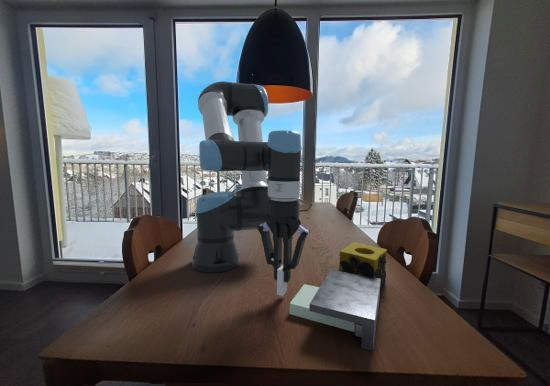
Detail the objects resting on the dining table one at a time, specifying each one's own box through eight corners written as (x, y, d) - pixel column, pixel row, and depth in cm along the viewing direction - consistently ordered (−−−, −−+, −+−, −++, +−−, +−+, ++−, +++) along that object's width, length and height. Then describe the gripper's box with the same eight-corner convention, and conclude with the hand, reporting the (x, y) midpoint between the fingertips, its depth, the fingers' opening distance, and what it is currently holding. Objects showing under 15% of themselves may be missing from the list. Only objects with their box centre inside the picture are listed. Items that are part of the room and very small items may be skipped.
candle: (351, 273, 79) (353, 241, 78) (386, 283, 73) (388, 248, 72) (336, 285, 72) (337, 250, 70) (373, 297, 65) (376, 259, 64)
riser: (308, 332, 52) (309, 303, 51) (329, 291, 68) (330, 269, 67) (372, 351, 47) (374, 320, 46) (379, 302, 63) (380, 278, 62)
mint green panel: (289, 315, 58) (289, 303, 58) (304, 295, 67) (304, 284, 67) (354, 334, 52) (355, 320, 52) (360, 308, 61) (361, 296, 61)
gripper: (251, 198, 60) (251, 294, 64) (305, 203, 55) (302, 307, 58) (265, 194, 67) (265, 281, 70) (315, 198, 62) (311, 291, 65)
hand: (281, 292), depth 64 cm, fingers closed
